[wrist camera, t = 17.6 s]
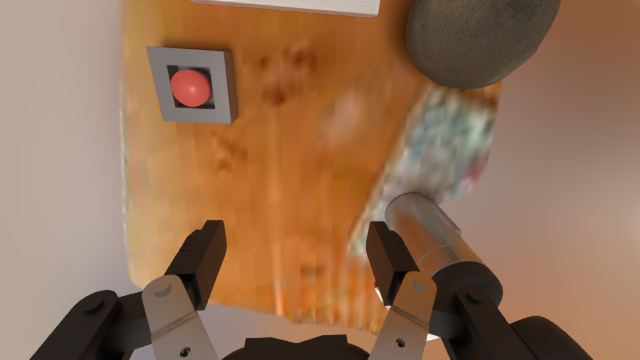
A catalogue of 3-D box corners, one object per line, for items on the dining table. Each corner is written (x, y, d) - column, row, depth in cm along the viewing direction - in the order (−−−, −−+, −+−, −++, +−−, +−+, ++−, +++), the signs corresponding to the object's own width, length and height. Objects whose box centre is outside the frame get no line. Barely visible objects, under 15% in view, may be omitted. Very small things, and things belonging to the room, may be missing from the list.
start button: (212, 69, 33) (204, 71, 30) (216, 103, 35) (209, 107, 32) (178, 67, 32) (167, 68, 30) (184, 101, 34) (174, 105, 32)
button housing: (231, 51, 33) (223, 51, 30) (237, 117, 38) (231, 123, 34) (162, 47, 33) (146, 46, 29) (176, 114, 37) (163, 121, 33)
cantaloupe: (472, -63, 30) (611, -157, 17) (496, 49, 36) (612, 46, 23) (370, 8, 32) (419, -24, 19) (408, 101, 38) (466, 126, 25)
